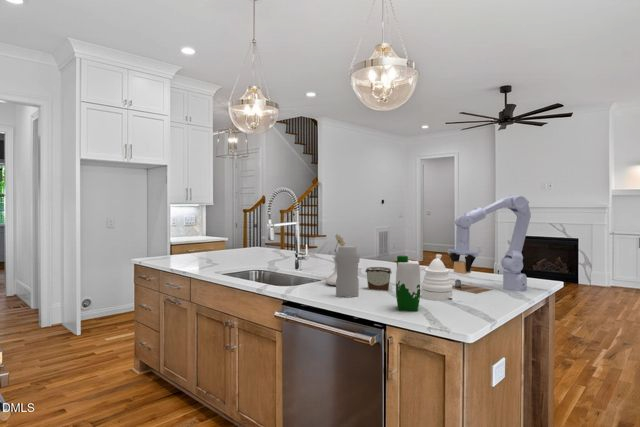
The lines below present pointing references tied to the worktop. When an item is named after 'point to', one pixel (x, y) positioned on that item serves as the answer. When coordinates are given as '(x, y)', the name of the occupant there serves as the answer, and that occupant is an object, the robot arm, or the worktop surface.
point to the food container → (378, 278)
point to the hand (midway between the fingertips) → (462, 270)
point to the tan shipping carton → (460, 267)
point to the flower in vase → (333, 277)
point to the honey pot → (436, 281)
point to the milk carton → (407, 284)
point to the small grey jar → (457, 283)
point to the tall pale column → (347, 271)
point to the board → (471, 289)
